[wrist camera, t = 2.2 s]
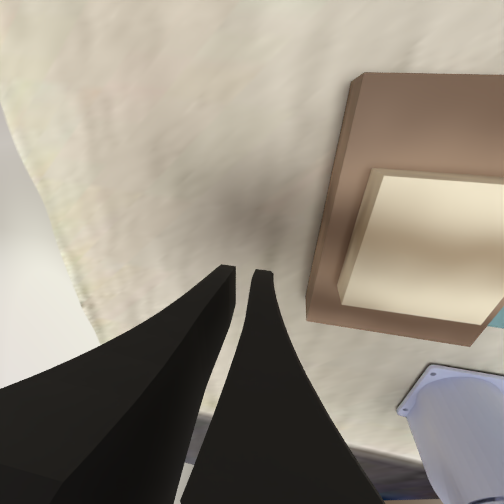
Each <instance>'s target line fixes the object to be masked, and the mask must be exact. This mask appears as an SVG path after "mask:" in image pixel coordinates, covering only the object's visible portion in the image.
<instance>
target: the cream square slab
mask: <svg viewBox="0 0 504 504" xmlns="http://www.w3.org/2000/svg"><path fill="white" fill-rule="evenodd" d="M337 287H338V292H339V296H340V300H341V304H342V305H347V306H354V307H361V308H368V309H375V310H381V311H388V312H395V313H402V314H409V315H416V316H422V317H429V318H436V319H443V320H450V321H456V322H463V323H470V324H477V325H481V324H482V323H483V322H484V321H485V319H486V318H487V317H488V316H489V314H490V313H491V312H492V311H493V309H494V308H495V307H496V306H497V304H498V303H499V302H500V301H501V300H502V298H503V297H504V177H495V176H481V175H467V174H453V173H438V172H424V171H410V170H396V169H381V168H372V169H371V172H370V176H369V179H368V182H367V186H366V189H365V192H364V196H363V199H362V203H361V206H360V209H359V213H358V216H357V219H356V223H355V226H354V229H353V233H352V236H351V240H350V243H349V246H348V250H347V253H346V256H345V260H344V263H343V267H342V270H341V273H340V277H339V280H338V283H337Z"/></svg>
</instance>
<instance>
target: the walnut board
mask: <svg viewBox="0 0 504 504" xmlns="http://www.w3.org/2000/svg"><path fill="white" fill-rule="evenodd" d="M372 168H381V169H396V170H410V171H424V172H438V173H453V174H467V175H481V176H495V177H504V75H478V74H425V73H372V72H364V73H363V74H361V75H360V76H359V77H357V78H356V79H354V80H353V81H351V85H350V89H349V94H348V99H347V104H346V108H345V113H344V118H343V122H342V127H341V132H340V136H339V141H338V146H337V151H336V155H335V160H334V165H333V169H332V174H331V179H330V184H329V188H328V193H327V198H326V202H325V207H324V212H323V216H322V221H321V226H320V231H319V235H318V240H317V245H316V249H315V254H314V259H313V263H312V268H311V273H310V278H309V282H308V287H307V292H306V296H305V297H306V320H307V321H310V322H316V323H323V324H329V325H335V326H341V327H348V328H354V329H360V330H367V331H373V332H379V333H386V334H392V335H398V336H404V337H411V338H417V339H423V340H430V341H436V342H442V343H449V344H455V345H461V346H467V347H470V346H471V345H472V344H473V342H474V341H475V340H476V339H477V338H478V336H479V335H480V334H481V333H482V332H483V330H484V329H485V328H486V327H487V326H488V324H489V323H490V322H491V321H492V320H493V318H494V317H495V316H496V315H497V314H498V312H499V311H500V310H501V309H502V308H503V306H504V297H503V298H502V300H501V301H500V302H499V303H498V304H497V306H496V307H495V308H494V309H493V311H492V312H491V313H490V314H489V316H488V317H487V318H486V319H485V321H484V322H483V323H482V324H481V325H477V324H470V323H463V322H456V321H450V320H443V319H436V318H429V317H422V316H416V315H409V314H402V313H395V312H388V311H381V310H375V309H368V308H361V307H354V306H347V305H342V304H341V300H340V296H339V292H338V287H337V283H338V280H339V277H340V273H341V270H342V267H343V263H344V260H345V256H346V253H347V250H348V246H349V243H350V240H351V236H352V233H353V229H354V226H355V223H356V219H357V216H358V213H359V209H360V206H361V203H362V199H363V196H364V192H365V189H366V186H367V182H368V179H369V176H370V172H371V169H372Z"/></svg>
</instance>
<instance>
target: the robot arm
mask: <svg viewBox="0 0 504 504" xmlns="http://www.w3.org/2000/svg"><path fill="white" fill-rule="evenodd" d="M273 275H274V274H273V273H272V272H271V271H266V270H259V269H256V270H255V272H254V275H253V277H252V281H251V287H250V293H249V299H248V305H247V311H246V317H245V322H244V326H243V330H242V333H241V336H240V339H239V342H238V346H237V349H236V352H235V355H234V358H233V361H232V364H231V367H230V370H229V373H228V376H227V379H226V381H225V384H224V387H223V390H222V393H221V395H220V398H219V401H218V404H217V407H216V409H215V412H214V415H213V418H212V420H211V423H210V425H209V428H208V431H207V433H206V436H205V439H204V441H203V444H202V446H201V449H200V452H199V454H198V457H197V459H196V462H195V465H194V468H193V470H192V472H191V475H190V477H189V480H188V482H187V485H186V487H185V490H184V492H183V495H182V497H181V500H180V502H181V504H385V503H384V501H383V499H382V498H381V496H380V495H379V493H378V492H377V490H376V489H375V487H374V486H373V484H372V483H371V481H370V480H369V478H368V477H367V475H366V474H365V472H364V471H363V469H362V468H361V466H360V464H359V463H358V461H357V460H356V458H355V457H354V455H353V454H352V452H351V450H350V449H349V447H348V446H347V444H346V443H345V441H344V439H343V438H342V436H341V434H340V433H339V431H338V429H337V428H336V426H335V425H334V423H333V421H332V420H331V418H330V416H329V415H328V413H327V411H326V409H325V408H324V406H323V404H322V402H321V400H320V399H319V397H318V395H317V393H316V391H315V390H314V388H313V386H312V384H311V382H310V380H309V379H308V377H307V375H306V373H305V371H304V369H303V367H302V365H301V363H300V361H299V358H298V356H297V354H296V352H295V350H294V347H293V345H292V343H291V340H290V338H289V335H288V333H287V330H286V327H285V325H284V322H283V319H282V316H281V313H280V309H279V306H278V302H277V299H276V294H275V289H274V282H273ZM235 304H236V266H229V265H220V266H219V267H217V268H216V269H215V270H214V271H213V272H211V273H210V274H209V275H208V276H207V277H205V278H204V279H203V280H202V281H201V282H199V283H198V284H197V285H196V286H194V287H193V288H192V289H191V290H189V291H188V292H187V293H185V294H184V295H183V296H182V297H180V298H179V299H177V300H176V301H175V302H173V303H172V304H170V305H169V306H168V307H166V308H165V309H163V310H162V311H160V312H159V313H157V314H156V315H154V316H153V317H151V318H149V319H148V320H146V321H144V322H143V323H141V324H139V325H138V326H136V327H134V328H133V329H131V330H129V331H127V332H125V333H123V334H121V335H119V336H118V337H116V338H114V339H112V340H110V341H108V342H106V343H104V344H102V345H100V346H98V347H97V348H95V349H92V350H91V351H88V352H86V353H84V354H82V355H80V356H78V357H76V358H73V359H71V360H69V361H67V362H65V363H62V364H60V365H58V366H56V367H53V368H51V369H49V370H46V371H44V372H41V373H39V374H37V375H34V376H32V377H29V378H27V379H24V380H22V381H19V382H17V383H14V384H12V385H9V386H7V387H4V388H1V389H0V504H174V500H175V496H176V492H177V488H178V485H179V481H180V477H181V473H182V470H183V466H184V462H185V459H186V455H187V451H188V448H189V444H190V441H191V437H192V433H193V430H194V426H195V423H196V419H197V416H198V413H199V409H200V406H201V402H202V399H203V396H204V392H205V389H206V386H207V383H208V381H209V378H210V375H211V373H212V370H213V368H214V365H215V363H216V360H217V358H218V355H219V352H220V350H221V347H222V345H223V342H224V340H225V337H226V335H227V332H228V329H229V327H230V323H231V320H232V316H233V312H234V308H235ZM396 411H397V414H398V415H400V416H404V417H406V418H407V421H408V424H409V427H410V429H411V432H412V435H413V438H414V440H415V443H416V446H417V449H418V451H419V454H420V457H421V460H422V462H423V465H424V468H425V471H426V473H427V476H428V479H429V481H430V483H431V485H432V487H433V489H434V491H435V492H436V494H437V495H438V497H439V498H440V499H441V501H442V502H443V503H444V504H504V376H498V375H492V374H487V373H481V372H475V371H469V370H463V369H457V368H452V367H446V366H440V365H430V366H428V368H427V369H426V370H425V372H424V373H423V374H422V376H421V377H420V379H419V380H418V381H417V383H416V384H415V385H414V387H413V388H412V389H411V391H410V392H409V393H408V395H407V396H406V398H405V399H404V400H403V402H402V403H401V404H400V406H399V407H398V408H397V410H396Z"/></svg>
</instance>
